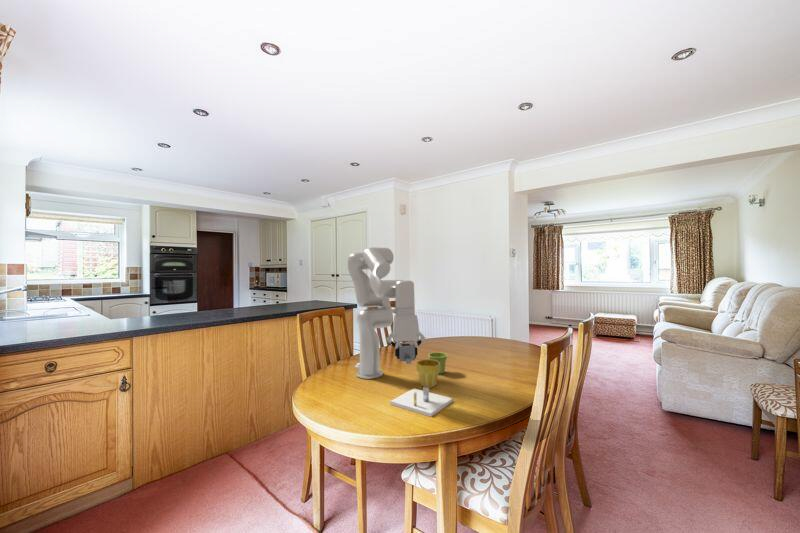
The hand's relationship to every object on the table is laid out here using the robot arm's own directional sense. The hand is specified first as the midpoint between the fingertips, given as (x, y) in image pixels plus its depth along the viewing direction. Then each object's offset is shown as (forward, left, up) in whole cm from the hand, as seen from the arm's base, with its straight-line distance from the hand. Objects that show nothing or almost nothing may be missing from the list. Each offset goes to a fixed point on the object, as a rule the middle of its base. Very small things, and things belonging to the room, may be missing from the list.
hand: (406, 357), depth 131 cm
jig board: (+7, 0, -16) cm, 18 cm away
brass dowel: (+8, -5, -15) cm, 18 cm away
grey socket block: (+1, -2, -1) cm, 2 cm away
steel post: (+9, 0, -15) cm, 18 cm away
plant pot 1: (-6, +35, -17) cm, 40 cm away
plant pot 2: (-1, +18, -17) cm, 25 cm away
